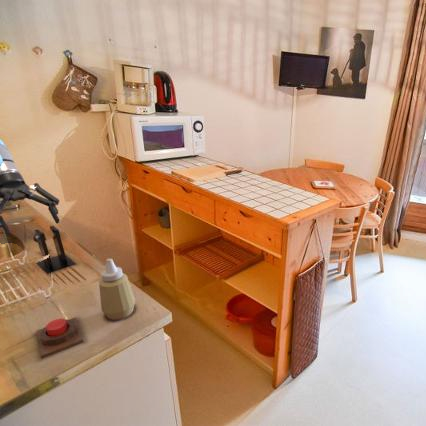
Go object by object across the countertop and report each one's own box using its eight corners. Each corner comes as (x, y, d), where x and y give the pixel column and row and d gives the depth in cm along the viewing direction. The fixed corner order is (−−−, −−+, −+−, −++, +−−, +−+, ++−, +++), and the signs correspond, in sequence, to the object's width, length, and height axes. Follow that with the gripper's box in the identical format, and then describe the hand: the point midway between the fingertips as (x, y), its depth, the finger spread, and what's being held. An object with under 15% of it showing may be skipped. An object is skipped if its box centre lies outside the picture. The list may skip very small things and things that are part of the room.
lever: (34, 244, 109) (30, 235, 109) (47, 241, 112) (43, 231, 112) (44, 241, 101) (39, 231, 100) (57, 237, 103) (53, 227, 103)
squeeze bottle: (118, 328, 84) (106, 271, 77) (96, 319, 87) (82, 263, 80) (143, 309, 92) (134, 256, 84) (122, 301, 94) (111, 249, 87)
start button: (46, 329, 78) (44, 323, 77) (66, 322, 81) (65, 316, 80) (48, 339, 76) (46, 332, 75) (69, 331, 78) (67, 325, 77)
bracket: (36, 265, 107) (25, 229, 101) (64, 256, 113) (55, 221, 108) (48, 277, 102) (36, 239, 96) (76, 266, 108) (67, 230, 103)
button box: (38, 335, 80) (34, 325, 79) (77, 322, 85) (74, 311, 84) (42, 361, 74) (38, 349, 72) (84, 344, 79) (81, 333, 77)
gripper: (49, 175, 124) (74, 221, 123) (-44, 190, 105) (-15, 244, 103) (51, 165, 120) (77, 212, 118) (-46, 178, 100) (-16, 235, 99)
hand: (34, 227), depth 111 cm, fingers open, 13 cm apart
